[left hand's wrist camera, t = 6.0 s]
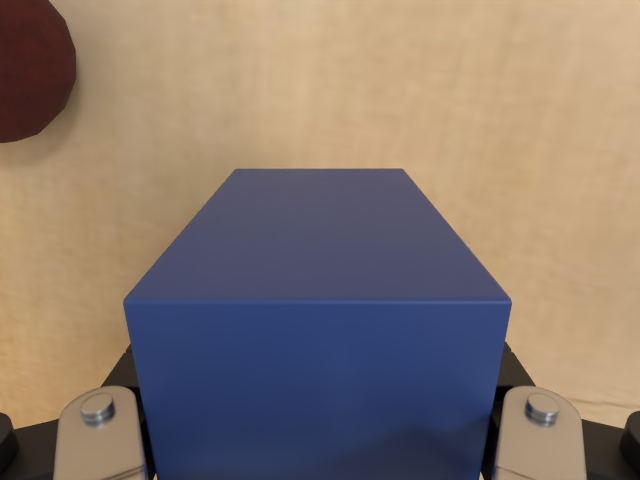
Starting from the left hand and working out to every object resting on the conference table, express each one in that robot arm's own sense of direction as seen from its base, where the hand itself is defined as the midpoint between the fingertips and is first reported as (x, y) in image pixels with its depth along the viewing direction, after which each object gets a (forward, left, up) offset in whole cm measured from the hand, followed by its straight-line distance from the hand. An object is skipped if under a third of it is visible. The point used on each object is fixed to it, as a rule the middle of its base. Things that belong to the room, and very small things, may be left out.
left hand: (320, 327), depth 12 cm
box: (-7, +2, -5) cm, 9 cm away
